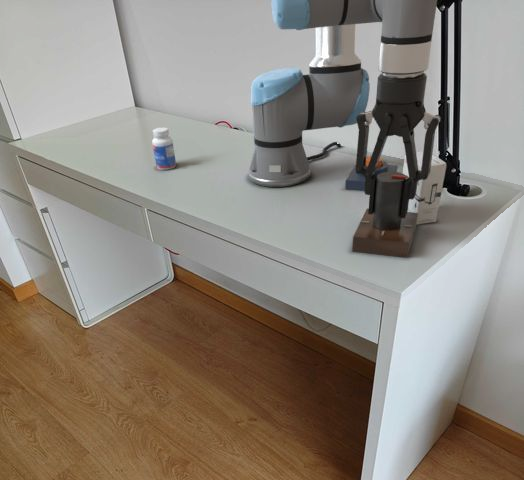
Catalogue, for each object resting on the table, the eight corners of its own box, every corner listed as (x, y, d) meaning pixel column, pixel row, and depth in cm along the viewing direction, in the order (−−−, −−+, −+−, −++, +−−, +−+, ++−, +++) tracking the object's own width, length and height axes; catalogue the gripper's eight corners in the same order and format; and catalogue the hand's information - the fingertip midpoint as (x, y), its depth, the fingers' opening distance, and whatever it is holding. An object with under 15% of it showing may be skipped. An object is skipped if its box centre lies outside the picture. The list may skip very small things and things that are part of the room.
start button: (366, 163, 119) (366, 155, 118) (382, 164, 118) (383, 156, 117) (362, 168, 116) (363, 161, 115) (379, 169, 115) (380, 162, 114)
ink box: (396, 209, 106) (403, 152, 99) (418, 205, 107) (426, 149, 99) (414, 225, 99) (423, 166, 92) (437, 222, 100) (448, 162, 93)
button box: (356, 171, 125) (357, 155, 122) (396, 174, 122) (398, 157, 119) (345, 189, 116) (346, 172, 114) (388, 192, 113) (390, 175, 111)
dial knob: (369, 228, 93) (373, 178, 87) (376, 216, 97) (380, 168, 91) (397, 231, 91) (403, 181, 85) (403, 220, 95) (409, 171, 89)
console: (365, 222, 102) (366, 207, 100) (415, 227, 99) (418, 212, 97) (352, 251, 93) (353, 235, 91) (407, 257, 90) (409, 241, 88)
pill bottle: (152, 168, 136) (145, 130, 130) (166, 162, 139) (159, 125, 133) (166, 171, 133) (160, 133, 127) (180, 165, 136) (174, 127, 130)
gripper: (466, 68, 77) (441, 210, 92) (352, 67, 84) (345, 200, 98) (460, 79, 72) (435, 227, 87) (339, 76, 79) (334, 215, 93)
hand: (387, 212), depth 92 cm, fingers closed on dial knob, 5 cm apart
